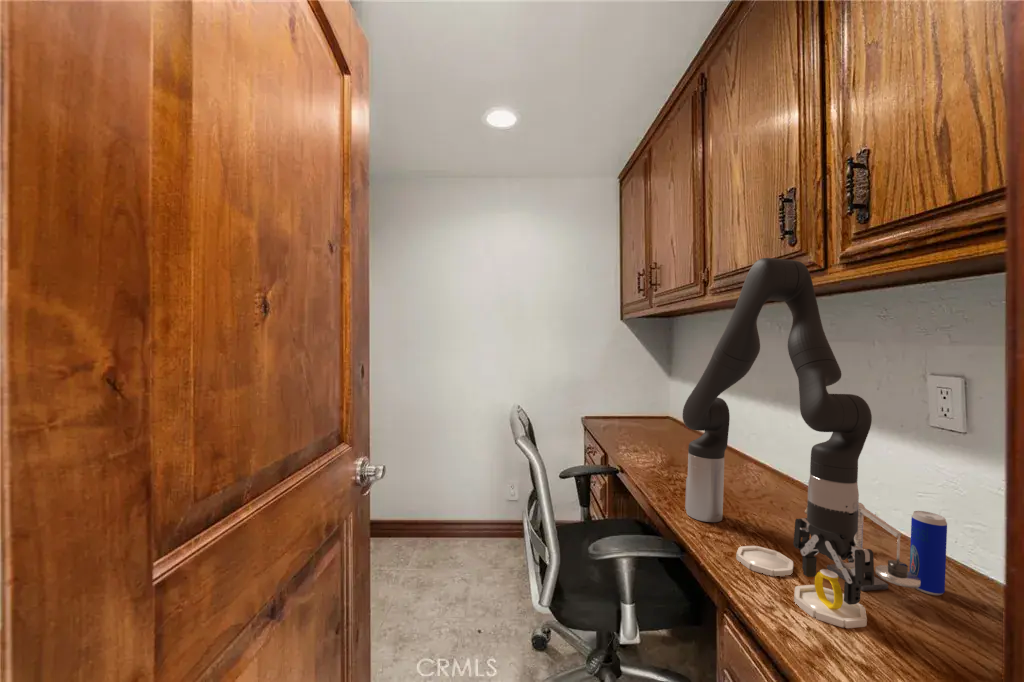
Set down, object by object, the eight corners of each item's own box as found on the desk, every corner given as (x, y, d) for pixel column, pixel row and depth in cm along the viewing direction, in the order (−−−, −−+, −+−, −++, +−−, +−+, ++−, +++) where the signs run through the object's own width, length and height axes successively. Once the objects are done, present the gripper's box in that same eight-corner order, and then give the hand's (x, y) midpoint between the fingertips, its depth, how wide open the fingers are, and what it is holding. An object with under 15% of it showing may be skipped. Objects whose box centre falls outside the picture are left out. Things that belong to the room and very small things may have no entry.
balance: (798, 552, 100) (801, 478, 100) (822, 551, 101) (825, 477, 101) (900, 614, 78) (903, 518, 78) (929, 611, 79) (932, 517, 79)
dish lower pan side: (780, 593, 84) (781, 587, 84) (827, 589, 86) (828, 583, 86) (829, 630, 73) (829, 623, 73) (881, 624, 75) (882, 618, 75)
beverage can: (908, 578, 90) (910, 508, 90) (942, 588, 87) (945, 515, 87) (910, 589, 86) (912, 515, 86) (946, 600, 83) (949, 523, 83)
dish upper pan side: (726, 552, 100) (727, 547, 100) (767, 549, 101) (767, 544, 101) (760, 577, 89) (760, 572, 89) (805, 574, 91) (805, 568, 91)
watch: (846, 616, 77) (849, 584, 76) (829, 615, 77) (832, 583, 76) (824, 593, 83) (827, 564, 82) (809, 592, 83) (811, 563, 82)
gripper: (783, 488, 86) (781, 569, 86) (851, 518, 72) (848, 615, 72) (816, 487, 87) (813, 567, 87) (889, 516, 73) (885, 611, 73)
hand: (829, 588), depth 79 cm, fingers open, 8 cm apart
